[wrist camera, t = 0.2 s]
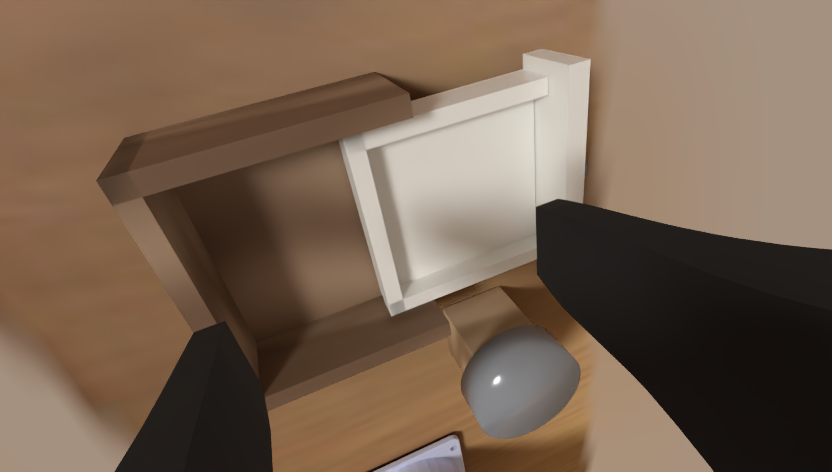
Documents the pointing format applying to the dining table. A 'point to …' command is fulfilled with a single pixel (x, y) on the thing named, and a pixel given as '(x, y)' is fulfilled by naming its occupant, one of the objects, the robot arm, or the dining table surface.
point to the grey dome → (519, 381)
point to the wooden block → (480, 322)
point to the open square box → (271, 233)
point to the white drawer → (469, 177)
